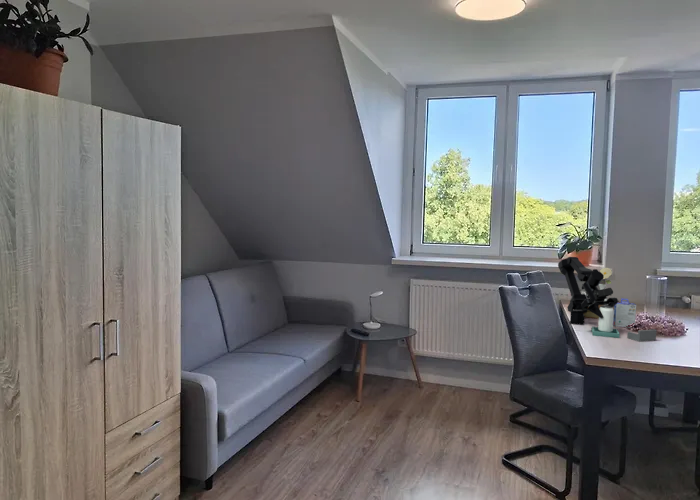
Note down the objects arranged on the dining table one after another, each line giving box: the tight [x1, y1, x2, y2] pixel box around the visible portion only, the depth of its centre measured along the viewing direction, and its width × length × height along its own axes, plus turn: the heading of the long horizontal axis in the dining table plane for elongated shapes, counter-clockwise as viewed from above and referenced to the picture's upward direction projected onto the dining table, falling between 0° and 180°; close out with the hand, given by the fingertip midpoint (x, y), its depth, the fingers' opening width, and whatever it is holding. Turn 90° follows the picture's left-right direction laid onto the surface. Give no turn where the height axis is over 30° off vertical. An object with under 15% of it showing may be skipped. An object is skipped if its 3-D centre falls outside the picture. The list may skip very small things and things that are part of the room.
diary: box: [584, 305, 614, 320], centre depth 310 cm, size 23×19×6 cm
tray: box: [591, 326, 620, 339], centre depth 263 cm, size 12×12×2 cm
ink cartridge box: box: [613, 297, 637, 328], centre depth 282 cm, size 10×6×14 cm, turn 78°
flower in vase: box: [598, 267, 613, 301], centre depth 339 cm, size 13×11×25 cm
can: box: [597, 305, 614, 332], centre depth 263 cm, size 6×6×12 cm
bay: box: [626, 329, 657, 343], centre depth 255 cm, size 7×10×5 cm
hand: (607, 317), depth 262 cm, fingers closed on can, 6 cm apart
